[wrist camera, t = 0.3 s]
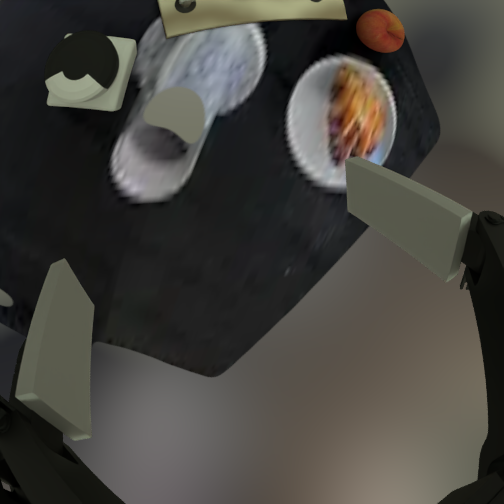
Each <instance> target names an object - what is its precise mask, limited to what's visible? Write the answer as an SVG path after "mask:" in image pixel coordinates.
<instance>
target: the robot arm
mask: <svg viewBox="0 0 504 504" xmlns="http://www.w3.org/2000/svg"><path fill="white" fill-rule="evenodd" d="M345 166H346V183H347V205H348V211H349V212H350V213H352V214H353V215H355V216H356V217H358V218H359V219H361V220H362V221H364V222H365V223H366V224H368V225H369V226H371V227H372V228H374V229H375V230H377V231H378V232H380V233H381V234H382V235H384V236H385V237H387V238H388V239H390V240H391V241H392V242H394V243H395V244H396V245H398V246H399V247H400V248H402V249H403V250H405V251H406V252H407V253H409V254H410V255H411V256H413V257H414V258H415V259H417V260H418V261H419V262H420V263H422V264H423V265H424V266H426V267H427V268H428V269H430V270H431V271H432V272H434V273H435V274H436V275H437V276H439V277H440V278H441V279H442V280H443V281H445V282H448V281H450V280H451V279H452V278H454V277H455V276H456V275H457V274H458V271H459V267H460V264H461V262H463V263H464V264H465V265H466V268H465V271H464V275H463V278H462V281H461V285H460V289H463V286H464V283H465V282H467V287H466V290H469V291H470V295H471V299H472V303H473V307H474V312H475V316H476V320H477V326H478V331H479V336H480V342H481V348H482V355H483V362H484V370H485V378H486V389H487V402H488V435H487V438H486V440H485V442H484V444H483V446H482V449H481V453H480V458H479V470H478V480H477V481H475V482H473V483H471V484H468V485H466V486H464V487H461V488H459V489H456V490H454V491H452V492H451V493H450V494H448V495H447V496H446V497H445V498H444V499H443V500H441V501H440V502H439V503H438V504H504V217H503V216H501V215H499V214H497V213H495V212H492V211H482V212H480V214H479V215H477V214H475V213H474V212H472V211H471V210H469V209H467V208H465V207H464V206H462V205H460V204H458V203H456V202H454V201H453V200H451V199H449V198H447V197H445V196H443V195H441V194H439V193H437V192H435V191H433V190H431V189H429V188H427V187H425V186H423V185H421V184H419V183H417V182H415V181H413V180H411V179H409V178H407V177H404V176H402V175H400V174H398V173H396V172H393V171H391V170H389V169H386V168H384V167H382V166H379V165H377V164H375V163H372V162H370V161H367V160H365V159H362V158H360V157H354V158H350V159H346V160H345ZM93 314H94V305H93V303H92V302H91V300H90V299H89V297H88V296H87V294H86V293H85V291H84V289H83V288H82V286H81V285H80V283H79V281H78V280H77V278H76V276H75V275H74V273H73V271H72V270H71V268H70V266H69V265H68V263H67V261H66V259H65V258H64V259H62V260H60V261H58V262H56V263H53V264H51V266H50V269H49V272H48V274H47V277H46V280H45V282H44V285H43V288H42V291H41V294H40V297H39V300H38V303H37V306H36V309H35V312H34V316H33V319H32V322H31V326H30V329H29V333H28V337H27V339H25V341H24V343H23V345H22V347H21V348H20V351H19V354H18V358H17V364H16V367H15V374H14V376H13V381H12V387H11V393H10V398H9V402H7V401H6V400H5V399H4V398H3V397H2V396H1V395H0V504H125V503H124V502H123V501H122V500H121V499H120V498H119V497H117V496H116V495H115V494H114V493H113V492H112V491H111V490H110V489H109V488H108V487H107V486H106V485H104V483H103V482H102V481H101V480H100V479H98V477H97V476H96V475H95V474H93V472H92V471H91V470H90V469H89V468H88V467H87V466H86V465H85V464H84V463H83V462H82V461H81V459H80V458H79V457H78V456H77V455H76V454H75V453H74V452H73V451H72V449H71V448H70V447H69V446H68V445H66V444H65V443H64V442H63V433H64V434H65V435H66V436H68V437H69V438H71V439H73V440H81V439H86V438H92V432H91V412H90V360H91V340H92V326H93ZM1 481H2V482H4V483H6V484H8V485H9V486H10V489H11V492H10V491H7V490H5V489H4V488H3V486H2V483H1Z"/></svg>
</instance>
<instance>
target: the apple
mask: <svg viewBox="0 0 504 504" xmlns="http://www.w3.org/2000/svg"><path fill="white" fill-rule="evenodd" d="M356 32H357V35H358V37H359V39H360V40H361V41H362V42H363V43H364V44H365V45H366V46H367V47H369V48H371V49H373V50H375V51H378V52H385V53H387V52H393V51H396V50H397V49H399V48H400V47H401V45H402V44H403V41H404V29H403V26H402V24H401V22H400V20H399V19H398V18H397V17H396V16H395V15H394V14H392V13H391V12H389V11H386V10H382V9H375V10H370V11H367V12H366V13H364V14H363V15H362V16H361V17H360V18H359V20H358V22H357V25H356Z"/></svg>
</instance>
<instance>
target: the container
mask: <svg viewBox="0 0 504 504" xmlns="http://www.w3.org/2000/svg"><path fill="white" fill-rule="evenodd" d="M136 55H137V49H136V41H135V40H133V39H127V38H119V37H110V36H105V35H104V34H102V33H100V32H97V31H89V30H87V31H80V32H76V33H74V34H67V35H66V36H65V38H64V39H63V40H62V41H61V42H60V43H58V45H57V46H56V47H55V48H54V49H53V51H52V52H51V54H50V55H49V57H48V60H47V62H46V66H45V73H44V77H45V83H46V86H47V88H48V90H49V95H48V99H47V104H48V105H49V106H63V107H75V108H86V109H96V110H105V111H116V110H119V109H120V108H121V106H122V102H123V99H124V95H125V91H126V88H127V84H128V81H129V77H130V74H131V70H132V67H133V64H134V61H135V58H136Z"/></svg>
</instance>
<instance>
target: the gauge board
mask: <svg viewBox="0 0 504 504" xmlns="http://www.w3.org/2000/svg"><path fill="white" fill-rule="evenodd" d="M157 1H158V5H159V9H160V14H161V18H162V22H163V26H164V31H165V35H166V39H168V38H171V37H175V36H180V35H184V34H188V33H193V32H197V31H202V30H208V29H213V28H219V27H225V26H232V25H239V24H247V23H256V22H267V21H282V20H347V16H346V11H345V7H344V3H343V0H157Z"/></svg>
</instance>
